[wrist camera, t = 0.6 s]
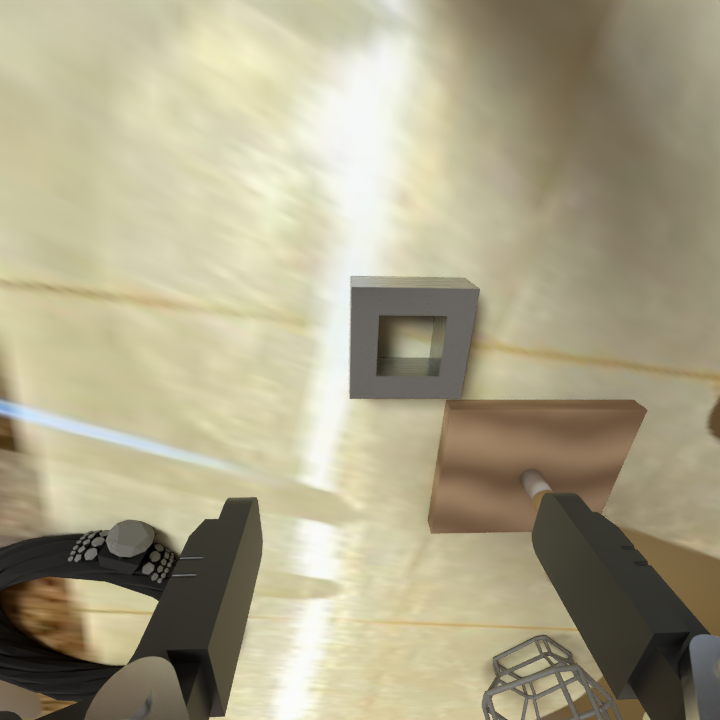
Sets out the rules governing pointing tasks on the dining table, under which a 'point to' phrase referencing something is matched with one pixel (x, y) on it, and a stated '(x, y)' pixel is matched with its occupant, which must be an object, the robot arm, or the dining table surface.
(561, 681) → the geometric lantern
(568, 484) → the keeper block
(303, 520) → the dining table surface
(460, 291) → the grey square frame
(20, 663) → the black studded ring
